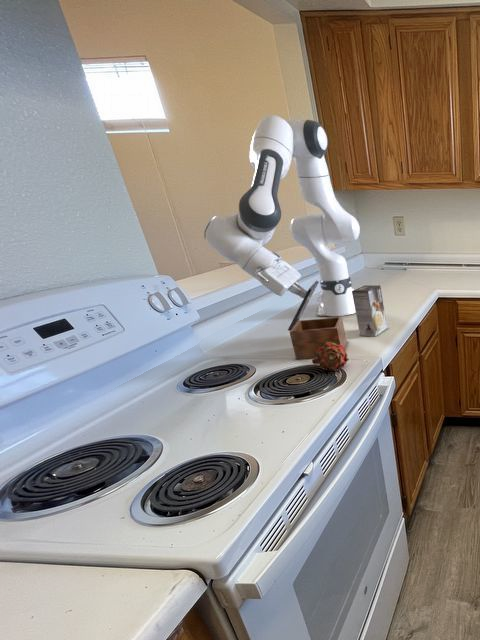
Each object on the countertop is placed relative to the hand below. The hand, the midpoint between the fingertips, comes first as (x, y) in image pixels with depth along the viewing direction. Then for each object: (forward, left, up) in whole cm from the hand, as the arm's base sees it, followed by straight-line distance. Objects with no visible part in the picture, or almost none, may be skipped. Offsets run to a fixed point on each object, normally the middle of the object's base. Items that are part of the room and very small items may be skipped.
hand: (306, 295), depth 127 cm
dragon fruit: (+19, +1, -18) cm, 26 cm away
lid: (0, -1, -3) cm, 3 cm away
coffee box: (-9, +20, -18) cm, 28 cm away
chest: (0, +1, -18) cm, 18 cm away
